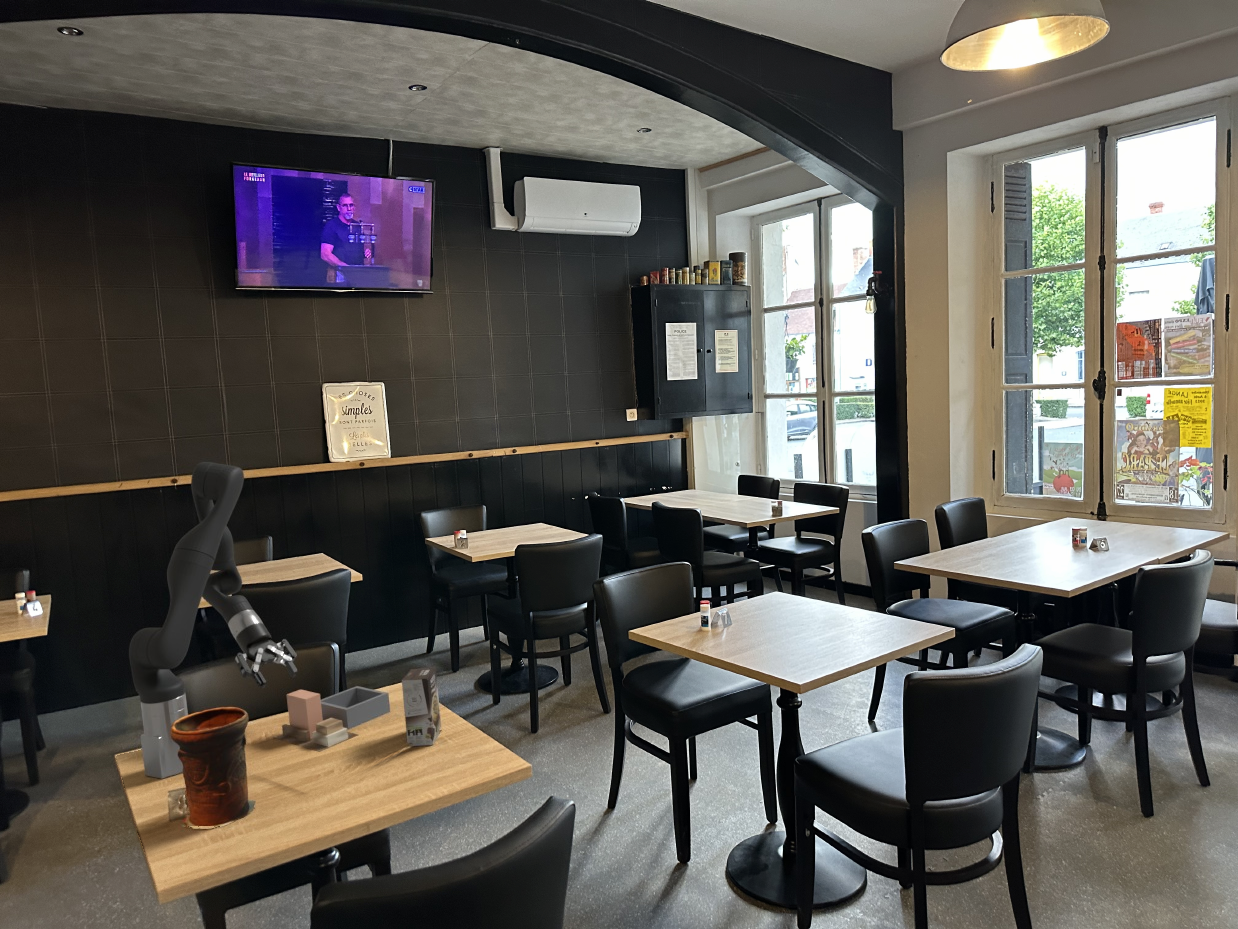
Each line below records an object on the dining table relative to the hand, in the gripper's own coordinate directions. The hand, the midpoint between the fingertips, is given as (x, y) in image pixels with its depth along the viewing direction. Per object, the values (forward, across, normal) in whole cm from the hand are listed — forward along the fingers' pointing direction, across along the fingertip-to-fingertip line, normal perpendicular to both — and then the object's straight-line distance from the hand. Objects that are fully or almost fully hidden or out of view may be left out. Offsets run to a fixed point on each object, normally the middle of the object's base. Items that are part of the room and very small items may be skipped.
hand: (279, 680), depth 219 cm
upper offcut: (+20, 0, -7) cm, 21 cm away
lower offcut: (+22, 0, -5) cm, 23 cm away
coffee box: (+36, +13, -17) cm, 42 cm away
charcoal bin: (+17, +13, +2) cm, 21 cm away
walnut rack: (+19, 0, 0) cm, 19 cm away
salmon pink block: (+15, 0, +2) cm, 15 cm away
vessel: (+30, -33, -11) cm, 46 cm away
